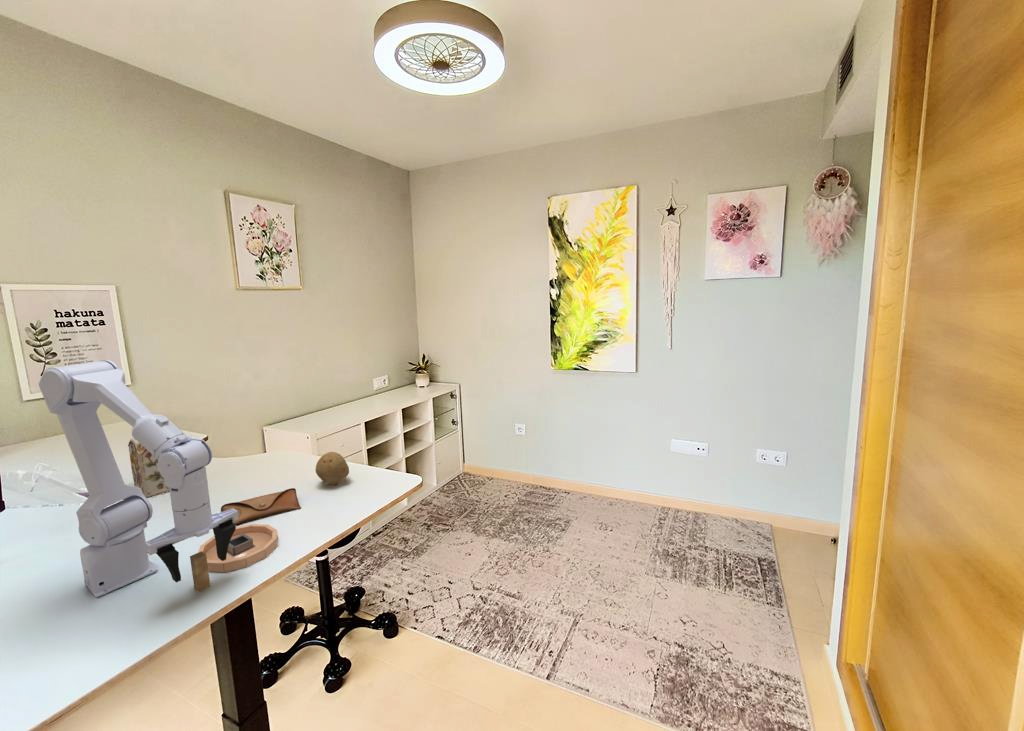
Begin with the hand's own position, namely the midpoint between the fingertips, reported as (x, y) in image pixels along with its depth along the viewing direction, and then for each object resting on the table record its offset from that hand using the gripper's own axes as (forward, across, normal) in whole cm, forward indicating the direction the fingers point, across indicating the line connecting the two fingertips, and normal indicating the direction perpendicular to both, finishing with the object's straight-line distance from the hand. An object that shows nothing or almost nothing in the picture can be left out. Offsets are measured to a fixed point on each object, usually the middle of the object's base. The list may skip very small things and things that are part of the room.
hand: (200, 568), depth 83 cm
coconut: (+4, +42, +20) cm, 47 cm away
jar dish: (+4, +10, +7) cm, 13 cm away
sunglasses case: (+5, +22, +20) cm, 30 cm away
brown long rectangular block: (+4, 0, 0) cm, 4 cm away
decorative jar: (+4, +13, +60) cm, 62 cm away
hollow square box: (+4, +10, +7) cm, 13 cm away
